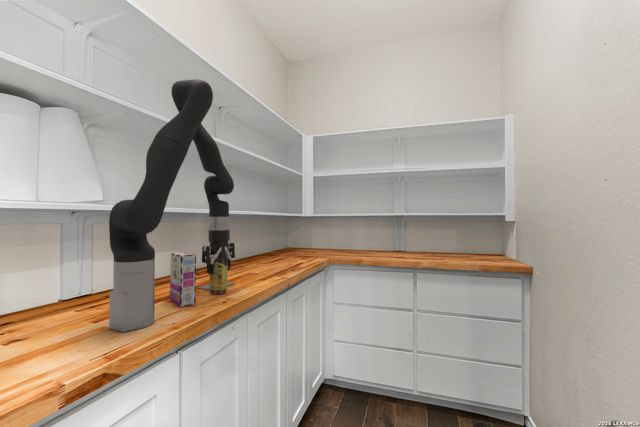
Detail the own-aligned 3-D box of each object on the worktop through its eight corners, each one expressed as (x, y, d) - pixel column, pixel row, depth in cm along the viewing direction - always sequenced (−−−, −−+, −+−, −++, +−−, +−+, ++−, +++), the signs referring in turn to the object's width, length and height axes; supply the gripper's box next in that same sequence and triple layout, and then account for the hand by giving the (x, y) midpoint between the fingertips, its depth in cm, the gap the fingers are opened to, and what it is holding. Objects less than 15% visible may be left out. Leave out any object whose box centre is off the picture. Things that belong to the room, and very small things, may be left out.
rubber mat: (212, 291, 110) (212, 289, 110) (197, 288, 113) (197, 287, 113) (234, 284, 121) (234, 283, 121) (220, 282, 124) (220, 281, 124)
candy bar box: (196, 304, 93) (197, 254, 93) (180, 308, 90) (180, 255, 90) (184, 297, 101) (184, 251, 101) (169, 300, 98) (169, 252, 98)
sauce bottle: (205, 294, 105) (205, 240, 105) (216, 290, 111) (216, 239, 111) (220, 295, 103) (221, 240, 103) (231, 291, 109) (231, 239, 109)
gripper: (212, 230, 99) (212, 276, 99) (239, 228, 112) (240, 269, 112) (196, 229, 102) (196, 274, 102) (225, 227, 115) (225, 268, 115)
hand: (219, 272), depth 107 cm, fingers open, 8 cm apart
